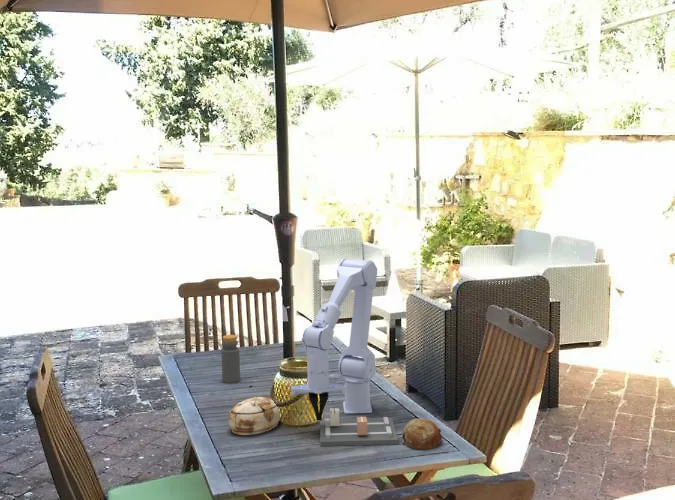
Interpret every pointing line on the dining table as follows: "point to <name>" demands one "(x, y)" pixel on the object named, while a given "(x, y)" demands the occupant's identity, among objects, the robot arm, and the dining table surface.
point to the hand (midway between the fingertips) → (319, 419)
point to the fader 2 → (362, 425)
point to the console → (346, 433)
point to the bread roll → (421, 434)
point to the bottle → (230, 359)
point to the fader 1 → (334, 417)
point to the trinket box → (254, 416)
